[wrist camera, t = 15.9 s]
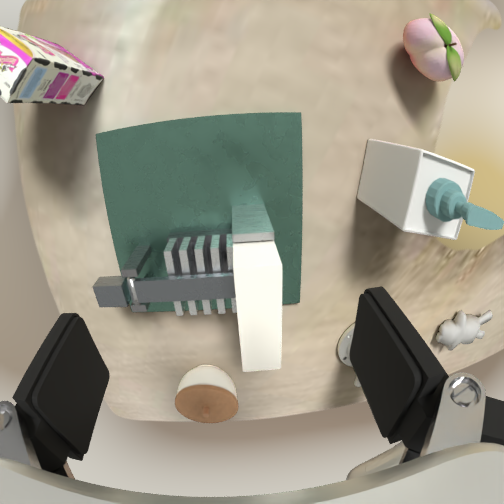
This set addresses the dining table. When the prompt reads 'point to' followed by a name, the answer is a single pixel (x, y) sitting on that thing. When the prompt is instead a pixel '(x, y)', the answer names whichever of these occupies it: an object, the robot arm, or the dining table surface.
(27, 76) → the candy bar box
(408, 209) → the soap bottle
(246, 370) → the plain white rectangular block
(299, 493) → the robot arm
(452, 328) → the bunny figurine
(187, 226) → the green base metal fixture
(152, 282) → the grey capped bar
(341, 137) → the dining table surface
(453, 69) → the decorative fruit
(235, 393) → the lidded jar
